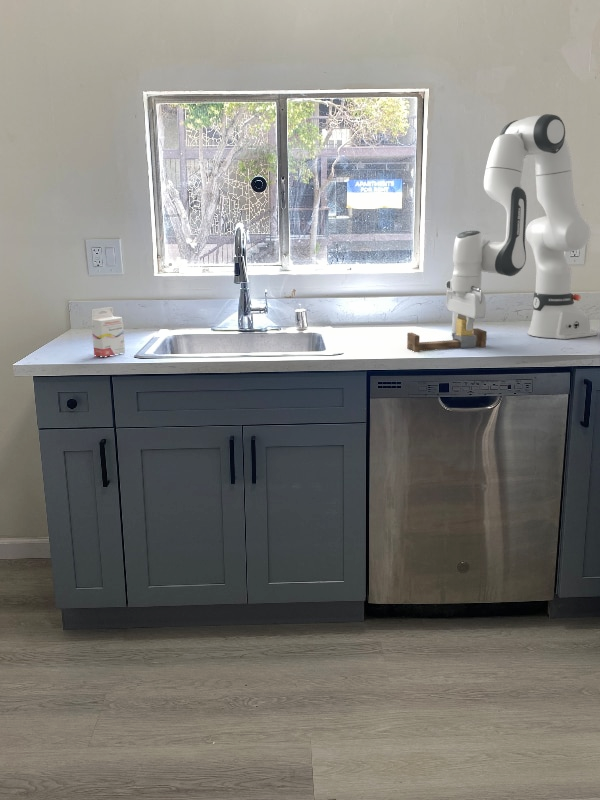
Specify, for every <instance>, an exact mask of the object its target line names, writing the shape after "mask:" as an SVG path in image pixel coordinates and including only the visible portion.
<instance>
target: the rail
mask: <svg viewBox="0 0 600 800" xmlns="http://www.w3.org/2000/svg"><path fill="white" fill-rule="evenodd" d="M487 333H488V332H487V331H486V330H484V329H481V328H478V327H477V328H476V327H475V328H474V327H473V335H476V347H480V348H486V346H487ZM406 336H407V342H406V344H407V345H406V347H407V348H406V349H407V350H409V351H411V350H412V352H413V351H414V352H413V353H419V352H420V350H423V351H433V350H435V349H437V350H447V349H448V350H449V349H461V348H460V347H459V345H460V341H459V340H453V339H451V340H450V339H449V340H437V341H436V340H435V341H421V342H420V335H419V334H416V333H415V332H407V335H406ZM476 347H475V348H476ZM435 351H436V350H435Z"/></svg>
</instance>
